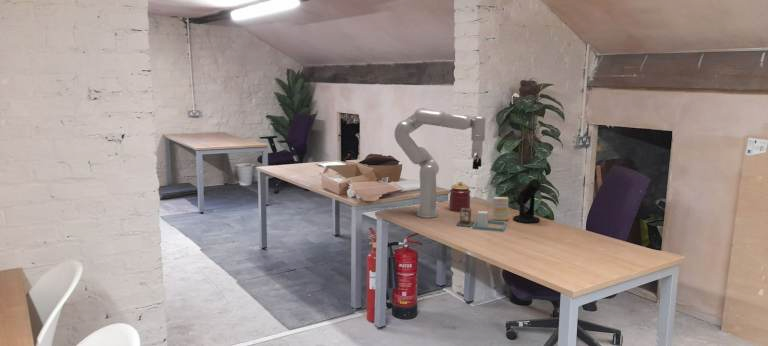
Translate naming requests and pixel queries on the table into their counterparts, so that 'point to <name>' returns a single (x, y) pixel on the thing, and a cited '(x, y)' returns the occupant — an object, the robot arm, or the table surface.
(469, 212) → the walnut block
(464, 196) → the canister
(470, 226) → the mat
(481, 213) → the grey block
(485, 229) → the tray
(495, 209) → the supplement box
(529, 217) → the microphone
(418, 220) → the table surface
